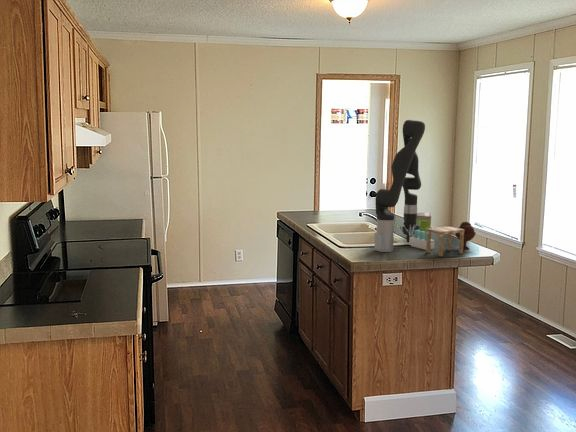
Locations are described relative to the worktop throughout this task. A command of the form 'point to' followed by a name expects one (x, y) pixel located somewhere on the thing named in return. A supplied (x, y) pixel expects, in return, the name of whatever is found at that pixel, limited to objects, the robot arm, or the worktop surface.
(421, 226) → the tea box
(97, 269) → the worktop surface
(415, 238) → the white and teal block
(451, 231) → the beige wooden stool
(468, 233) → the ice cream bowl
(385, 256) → the worktop surface
